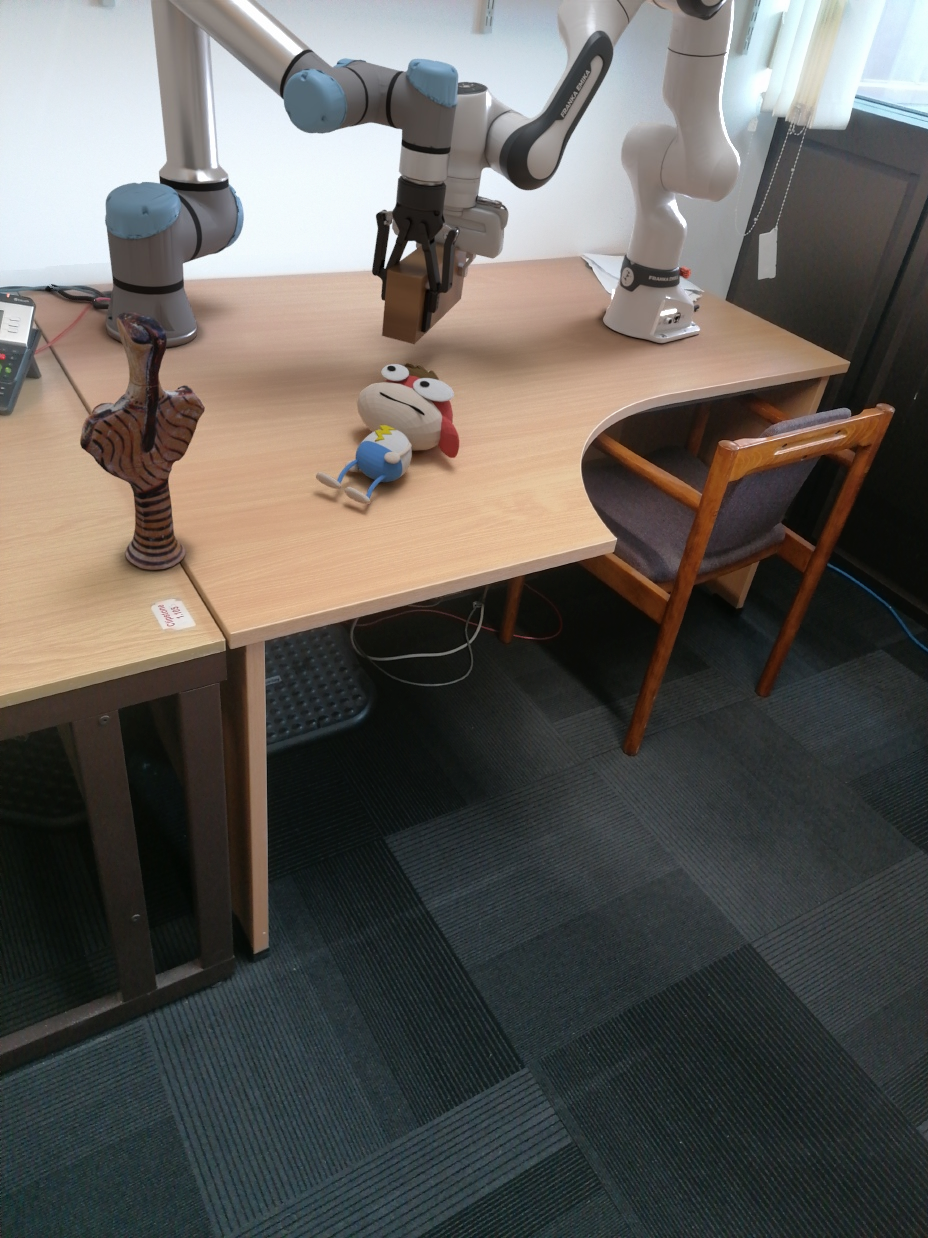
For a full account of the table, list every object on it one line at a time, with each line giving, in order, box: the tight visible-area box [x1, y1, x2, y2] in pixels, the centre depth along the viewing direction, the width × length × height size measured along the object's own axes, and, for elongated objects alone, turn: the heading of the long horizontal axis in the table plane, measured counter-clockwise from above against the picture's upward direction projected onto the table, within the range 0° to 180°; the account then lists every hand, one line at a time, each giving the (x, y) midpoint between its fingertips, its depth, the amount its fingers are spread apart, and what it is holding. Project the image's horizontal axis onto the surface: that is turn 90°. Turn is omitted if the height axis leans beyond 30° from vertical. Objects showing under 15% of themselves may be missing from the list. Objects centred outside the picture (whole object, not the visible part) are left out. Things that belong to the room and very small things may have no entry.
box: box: [381, 242, 468, 345], centre depth 156 cm, size 26×6×11 cm, turn 163°
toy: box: [315, 362, 460, 505], centre depth 132 cm, size 18×10×30 cm
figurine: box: [79, 312, 206, 571], centre depth 99 cm, size 15×8×30 cm, turn 144°
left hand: (407, 324), depth 151 cm, fingers closed on box, 6 cm apart
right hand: (443, 270), depth 163 cm, fingers closed on box, 6 cm apart
